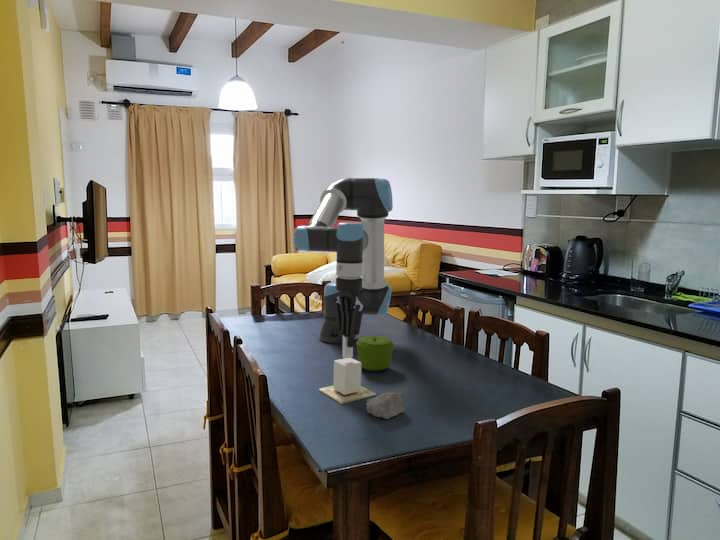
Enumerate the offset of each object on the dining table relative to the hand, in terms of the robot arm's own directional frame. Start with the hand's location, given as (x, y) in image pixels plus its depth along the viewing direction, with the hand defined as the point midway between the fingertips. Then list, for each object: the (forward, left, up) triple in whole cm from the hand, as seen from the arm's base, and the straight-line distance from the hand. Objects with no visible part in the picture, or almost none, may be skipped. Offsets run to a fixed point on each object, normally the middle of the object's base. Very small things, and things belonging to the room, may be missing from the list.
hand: (347, 357), depth 154 cm
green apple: (-20, -13, -11) cm, 26 cm away
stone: (-1, +18, -11) cm, 21 cm away
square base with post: (0, 0, -11) cm, 11 cm away
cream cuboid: (0, 0, -10) cm, 10 cm away
